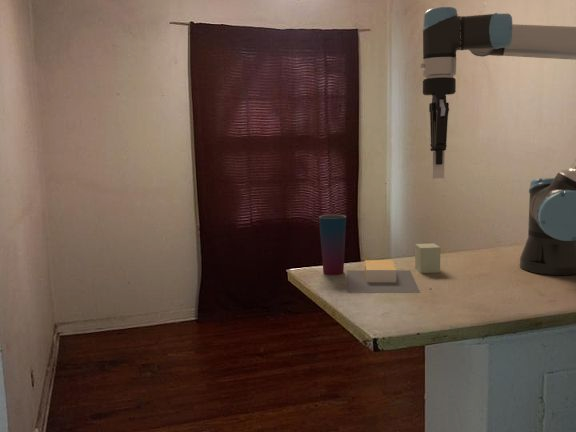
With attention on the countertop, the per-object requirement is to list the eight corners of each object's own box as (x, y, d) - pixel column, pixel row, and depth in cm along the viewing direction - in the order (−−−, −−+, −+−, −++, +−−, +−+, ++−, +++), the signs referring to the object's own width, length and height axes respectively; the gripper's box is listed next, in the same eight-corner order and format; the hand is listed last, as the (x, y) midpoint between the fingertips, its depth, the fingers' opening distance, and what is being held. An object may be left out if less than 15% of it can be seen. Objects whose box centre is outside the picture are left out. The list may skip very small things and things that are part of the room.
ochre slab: (396, 282, 139) (392, 271, 149) (396, 269, 139) (392, 260, 149) (366, 282, 140) (364, 271, 150) (366, 270, 139) (364, 260, 149)
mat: (410, 272, 150) (410, 270, 150) (420, 295, 130) (420, 292, 130) (346, 272, 152) (346, 270, 151) (347, 295, 132) (347, 292, 132)
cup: (317, 277, 148) (316, 218, 145) (322, 271, 154) (321, 214, 152) (344, 278, 146) (344, 218, 144) (348, 271, 152) (348, 214, 150)
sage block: (434, 269, 153) (434, 243, 151) (440, 274, 148) (440, 247, 147) (414, 270, 152) (415, 244, 151) (420, 275, 147) (420, 248, 146)
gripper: (419, 80, 145) (418, 175, 149) (426, 75, 132) (425, 180, 136) (450, 79, 144) (449, 175, 148) (461, 74, 131) (459, 180, 135)
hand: (437, 177), depth 142 cm, fingers closed
